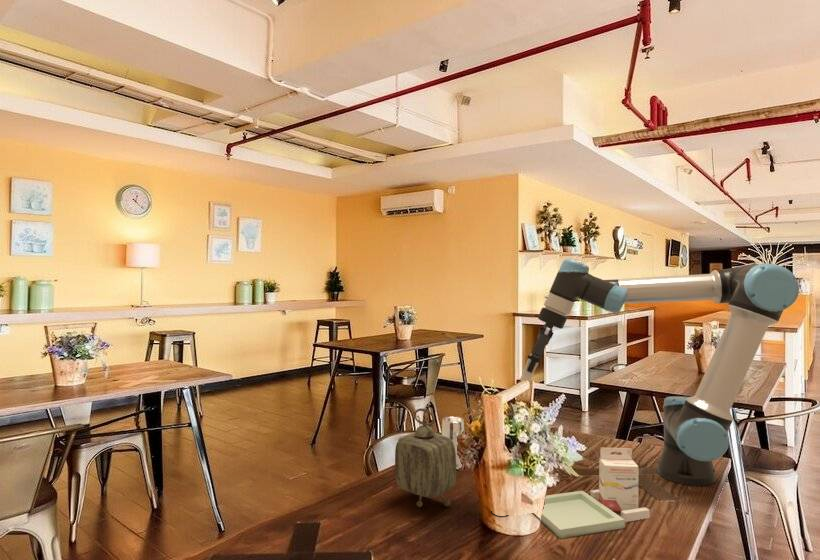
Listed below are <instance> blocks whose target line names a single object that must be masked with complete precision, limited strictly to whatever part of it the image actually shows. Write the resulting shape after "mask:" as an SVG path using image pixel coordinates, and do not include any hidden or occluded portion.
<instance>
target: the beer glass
mask: <svg viewBox="0 0 820 560" xmlns="http://www.w3.org/2000/svg"><path fill="white" fill-rule="evenodd" d="M464 421H465V420H464V418H463V417H461V416H445V417H443V418H442V422H441V423H442V424H441V435H444V436H446V437H448V438H450V439H451V440H452V441H453V443H454V446H455V452H456V465H457V467H456V469H459V468H461V467H462V464H461V462H460V459H459V457H458V455H457V445H458V442H457V437H459V436H460V435H461V434H462V432H463V431H464V432H465V422H464Z"/></svg>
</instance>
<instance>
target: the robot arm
mask: <svg viewBox="0 0 820 560" xmlns="http://www.w3.org/2000/svg"><path fill="white" fill-rule="evenodd" d="M589 271H590V266H588V265H587V264H585V263H583V262H580V261H578V260H575V259H572V258H565V259H564V260H563V261H562V263H561V265H560V266H559V269H558V271H557V274H556V276H555V278H554V280H553V282H552V284H551V287H550V290H549V293H548V295H547V294H545V295H544V298H545V301H544V303H543V305H544V307H541V309H540V312H539V314H538V317H537V318H538V320H540V321H541V322H543V323H545V324H543V325H542V327H541V326H540V328H539V329H538V333H537V336H536V340H535V341H536V342H535V344H534V346H533V348H532V351H531V353H530V354H528V355H527V357H526V358H527V362H526V364H525V366H524V368H523V371H522V373H521V377H520V379H519V381H520V382H522V381H526V380H532V379H533V376H534V374H535V372H536V370H537V367H538V365H539V363H540V361H541V360H542V358H543V353H544V351H545V348H546V346H548V345H549V343H550V340H552V338H553V336H554V332H553V331H554V330H553V328H554V327H555V328H556V329H563V328H564V326H565V324H566V322H567V320H568V318H567V316H570V314H571V311H572V309H573V307H574V304H575V302H576V299H579V300H581V301H584V302H586V303H589V304H590V305H593V306H595V307H598V308H600V309H602V310H604V311H606V312H610V313H613V314H618V313H619V312H620V311H621V309H622V308H623V306H624V304H625V305H626V304H649V303H651V304H653V303H673V302H674V303H675V302H698V301H699V302H701V301H713V303H715V304H728V305H727V307H728V308H729V311H730V313H731V314H730V316H729V318H728V320H727V323H726V324H725V327H724V329H723V331H722V334H721V336H720V338H719V340H718V343H717V345H716V347H715V350H714V352H713V353H712V356H711V358H710V360H709V364H708V366H707V367H706V369H705V373H704V374H703V376H702V379H701V381H700V382H699V385H698V387H697V390H696V392H695V394H694V395H692V396H678V395H677V396H666V397H665V398H664V400H663V406H662V409H663V449H662V452H661V455H660V458H659V459H660V460H659V461H658V463H657V474H659V476H660V477H662V478H664V479H666V480H667V481H670V482H673V483H677V484H682V485H687V486H696V487H697V486H700V487H701V486H702V487H703V486H710V485H713V484H715V483H716V482H717V473H716V469H715V468H714V464H713V461H716V460H717V459H720V458H721V457H723V455H725V454H726V452H727V450H728V448H729V445H730V444H729V443H730V437H729V433H728V432H729V430H730V427H732V426H731V425H732V424H733V421H734V417H733V415H732V413H731V408H732V406H733V405H734V403H735V400H736V397H737V395H738V393H739V391H740V388H741V387H742V384H744V383H743V382H744V380H745V379H746V376H747V374H748V372H749V370H750V367H751V365H752V363H753V361H754V359H755V357H756V354H757V352H758V350H759V348H760V345H761V344H762V341H763V339H764V337H765V335H766V332H767V330H768V328H769V327H771V326H772V325H776V324H778V323H779V321H780V319H781V317H782V314H783V312H784V310H786V309H789V307H791V306H792V305H794V303H795V302H796V301H797V299H798V298H799V293H800V283H799V281H798V278H796V276H795V275H794V273H793V272H792V271H791V270H789V269H788V268H786V267H784V266H782V265H778V264H773V263H769V262H768V263H766V262H765V263H759V264H758V263H757V264H753V263H752V264H745V265H741V266H737V267H732V268H731V267H730V268H724V269H714V270H712V271H711V272H710V273H701V274H686V275H684V274H683V275H669V276H668V275H667V276H652V277H651V276H649V277H634V278H633V277H632V278H618V279H602V278H599V277H596V276H594V275H592V274H591V273H589Z"/></svg>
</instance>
